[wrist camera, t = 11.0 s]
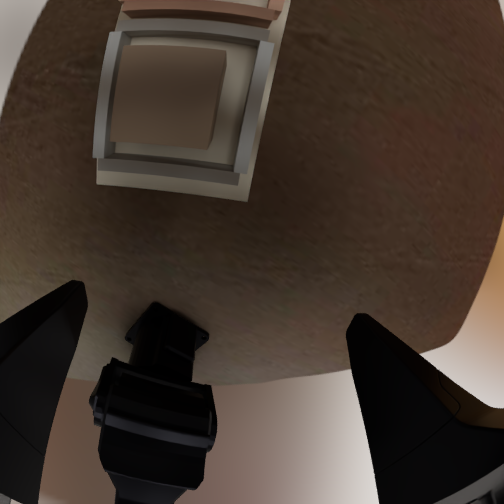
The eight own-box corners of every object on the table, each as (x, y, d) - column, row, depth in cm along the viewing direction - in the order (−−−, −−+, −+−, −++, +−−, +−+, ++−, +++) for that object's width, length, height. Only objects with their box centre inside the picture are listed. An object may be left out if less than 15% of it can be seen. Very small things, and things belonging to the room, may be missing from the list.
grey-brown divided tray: (246, 197, 20) (253, 233, 15) (101, 180, 18) (63, 210, 13) (305, -67, 9) (327, -104, 4) (162, -80, 8) (146, -117, 2)
